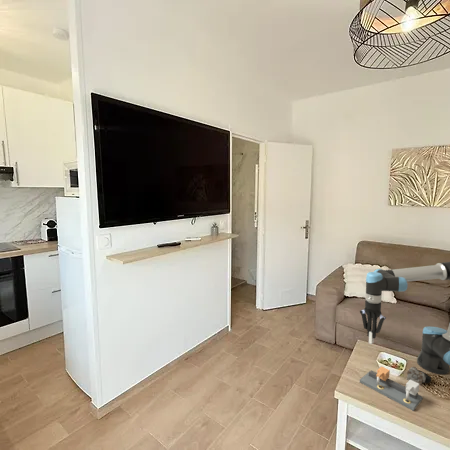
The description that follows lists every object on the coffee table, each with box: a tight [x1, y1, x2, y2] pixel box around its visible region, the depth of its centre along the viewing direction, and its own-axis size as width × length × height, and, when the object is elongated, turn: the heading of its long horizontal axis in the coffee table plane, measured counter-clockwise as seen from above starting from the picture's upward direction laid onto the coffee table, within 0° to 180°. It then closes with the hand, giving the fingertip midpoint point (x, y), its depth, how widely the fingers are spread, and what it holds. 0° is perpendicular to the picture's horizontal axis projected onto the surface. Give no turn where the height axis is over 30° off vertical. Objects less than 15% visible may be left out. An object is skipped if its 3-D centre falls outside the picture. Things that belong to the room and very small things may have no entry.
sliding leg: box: [376, 366, 391, 385], centre depth 143 cm, size 9×4×5 cm, turn 128°
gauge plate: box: [359, 370, 424, 412], centre depth 139 cm, size 12×25×8 cm, turn 38°
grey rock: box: [406, 366, 432, 386], centre depth 147 cm, size 7×11×10 cm
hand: (371, 342), depth 148 cm, fingers closed
